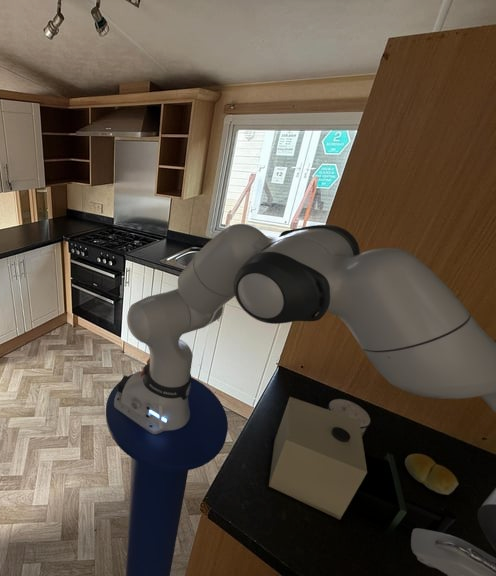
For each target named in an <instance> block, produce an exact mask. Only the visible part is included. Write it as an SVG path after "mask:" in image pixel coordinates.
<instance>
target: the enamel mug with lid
mask: <svg viewBox="0 0 496 576" xmlns="http://www.w3.org/2000/svg"><path fill="white" fill-rule="evenodd" d="M327 410H330V411H333V412H336V413H339V414H342V415H345V416H347V417H350V418H353V419H356V420H359V422H360V429H361V435H362V436H363V435H364V434H365V432H366V430H367V428H368V427H370V425H371V418H370V415H369V413H368V412H367V411H366V410H365V409H364V408H363V407H361V406H360V405H358V404H356V403H355V402H353V401H350V400H347V399H343V398H337V399H333V400H331V401H330V402H329V403H328V405H327Z"/></svg>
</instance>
